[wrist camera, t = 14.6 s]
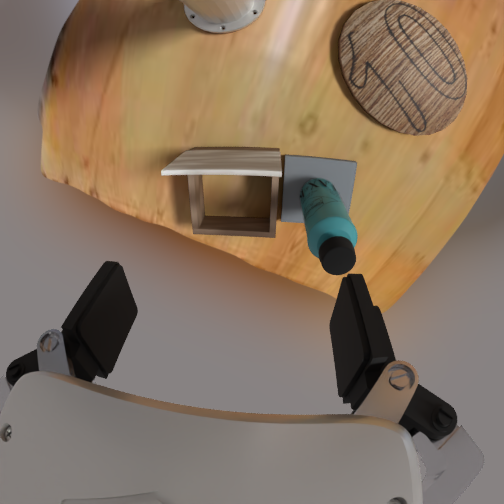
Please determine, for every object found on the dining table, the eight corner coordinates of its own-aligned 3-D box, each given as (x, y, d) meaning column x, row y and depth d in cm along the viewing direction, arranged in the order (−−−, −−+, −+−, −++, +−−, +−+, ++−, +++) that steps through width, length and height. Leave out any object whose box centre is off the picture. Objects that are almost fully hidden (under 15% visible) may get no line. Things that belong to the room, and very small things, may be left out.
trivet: (409, 161, 40) (413, 164, 39) (305, 59, 33) (306, 57, 31) (479, 83, 28) (485, 84, 27) (391, -20, 21) (395, -23, 19)
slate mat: (285, 154, 42) (285, 155, 41) (355, 161, 41) (357, 162, 41) (281, 219, 49) (281, 221, 48) (345, 223, 48) (346, 225, 47)
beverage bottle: (342, 184, 43) (380, 250, 27) (323, 215, 47) (346, 292, 30) (308, 166, 42) (331, 225, 25) (290, 199, 46) (298, 273, 29)
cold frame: (194, 143, 42) (161, 170, 30) (279, 144, 41) (282, 171, 29) (200, 220, 50) (176, 269, 38) (275, 223, 49) (274, 275, 37)
